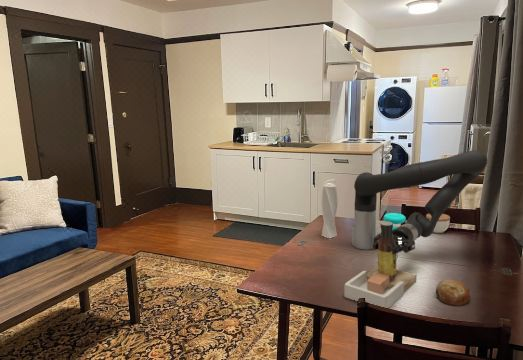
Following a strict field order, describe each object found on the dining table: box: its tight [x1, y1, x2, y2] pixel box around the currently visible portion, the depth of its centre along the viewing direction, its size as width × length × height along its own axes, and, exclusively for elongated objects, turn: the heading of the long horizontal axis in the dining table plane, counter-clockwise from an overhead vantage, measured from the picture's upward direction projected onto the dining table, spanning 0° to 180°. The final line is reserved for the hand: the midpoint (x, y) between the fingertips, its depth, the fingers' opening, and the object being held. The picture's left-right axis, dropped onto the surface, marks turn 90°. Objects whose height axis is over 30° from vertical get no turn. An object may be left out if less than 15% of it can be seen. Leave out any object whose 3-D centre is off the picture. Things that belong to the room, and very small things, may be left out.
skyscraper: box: [321, 178, 338, 238], centre depth 185 cm, size 8×8×28 cm
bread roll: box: [435, 279, 471, 306], centre depth 126 cm, size 10×10×8 cm
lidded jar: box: [425, 213, 451, 234], centre depth 190 cm, size 11×11×9 cm
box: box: [343, 270, 404, 309], centre depth 130 cm, size 15×14×4 cm
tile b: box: [367, 277, 384, 295], centre depth 130 cm, size 4×4×3 cm
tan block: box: [372, 272, 389, 289], centre depth 132 cm, size 4×4×3 cm
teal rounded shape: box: [383, 212, 407, 231], centre depth 186 cm, size 10×10×10 cm
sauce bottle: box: [377, 220, 398, 280], centre depth 134 cm, size 7×6×20 cm
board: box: [367, 266, 417, 294], centre depth 139 cm, size 14×12×2 cm
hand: (383, 249), depth 132 cm, fingers closed on sauce bottle, 6 cm apart
